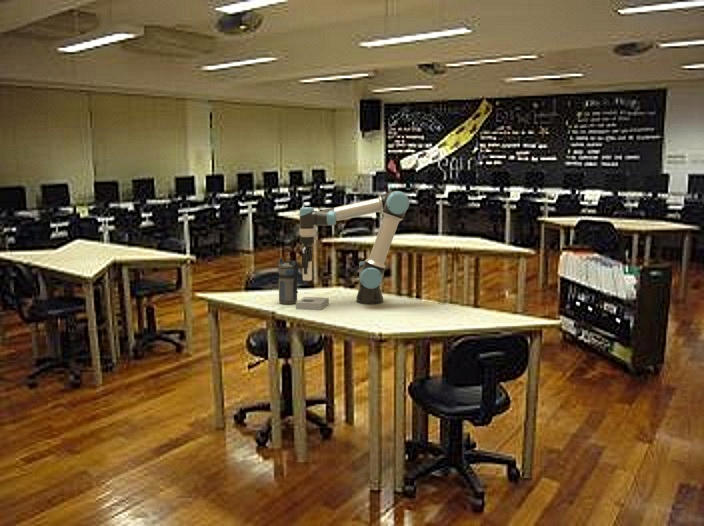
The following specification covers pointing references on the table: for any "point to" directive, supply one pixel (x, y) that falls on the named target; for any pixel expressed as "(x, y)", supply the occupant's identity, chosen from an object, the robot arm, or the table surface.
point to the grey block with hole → (312, 303)
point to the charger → (310, 269)
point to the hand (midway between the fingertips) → (307, 279)
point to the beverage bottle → (288, 281)
